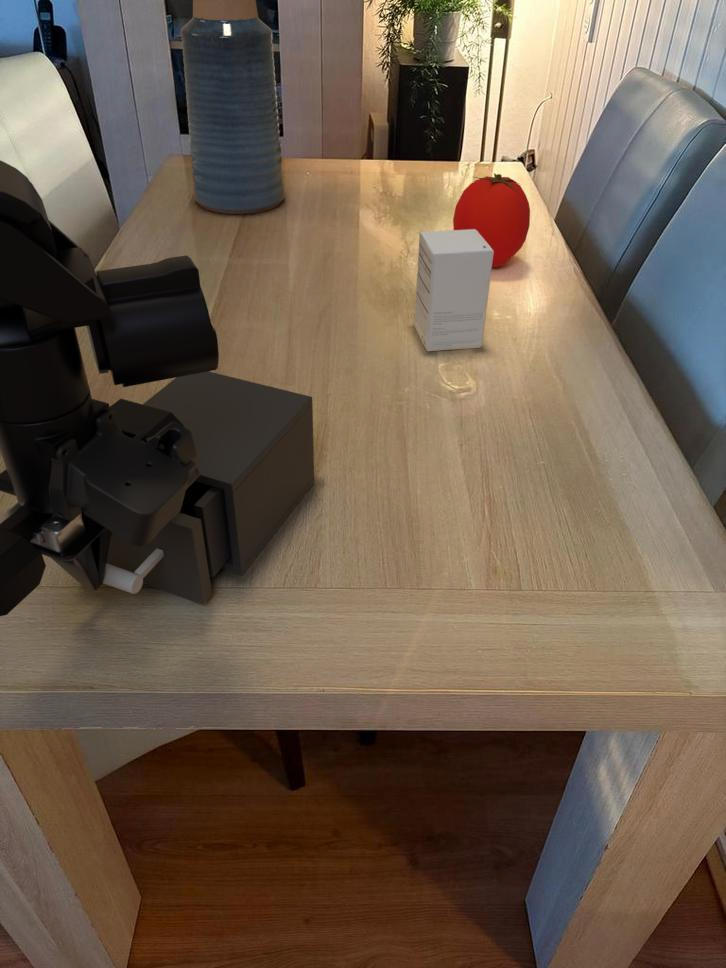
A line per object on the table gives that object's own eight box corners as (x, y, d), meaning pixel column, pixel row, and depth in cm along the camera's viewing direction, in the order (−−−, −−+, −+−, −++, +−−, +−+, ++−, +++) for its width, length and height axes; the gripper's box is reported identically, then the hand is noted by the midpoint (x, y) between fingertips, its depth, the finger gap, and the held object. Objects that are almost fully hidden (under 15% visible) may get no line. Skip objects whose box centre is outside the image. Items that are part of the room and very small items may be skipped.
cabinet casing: (242, 576, 61) (232, 484, 55) (115, 534, 65) (93, 443, 59) (314, 483, 71) (312, 396, 65) (201, 450, 74) (189, 366, 69)
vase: (179, 196, 137) (153, -8, 117) (256, 182, 145) (244, -12, 125) (221, 222, 127) (200, 2, 107) (301, 205, 135) (296, -2, 115)
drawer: (172, 644, 54) (156, 567, 49) (47, 597, 57) (21, 521, 53) (280, 509, 66) (275, 437, 61) (172, 477, 70) (159, 406, 65)
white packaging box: (466, 322, 98) (477, 227, 91) (482, 349, 93) (495, 250, 85) (412, 325, 97) (418, 229, 90) (424, 352, 92) (433, 252, 84)
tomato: (496, 245, 121) (508, 159, 113) (539, 273, 112) (555, 182, 104) (433, 254, 117) (440, 166, 109) (472, 284, 108) (483, 191, 100)
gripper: (32, 534, 34) (100, 732, 43) (241, 355, 47) (258, 537, 57) (-143, 472, 37) (-44, 669, 47) (100, 322, 51) (138, 499, 60)
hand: (93, 586), depth 53 cm, fingers closed
